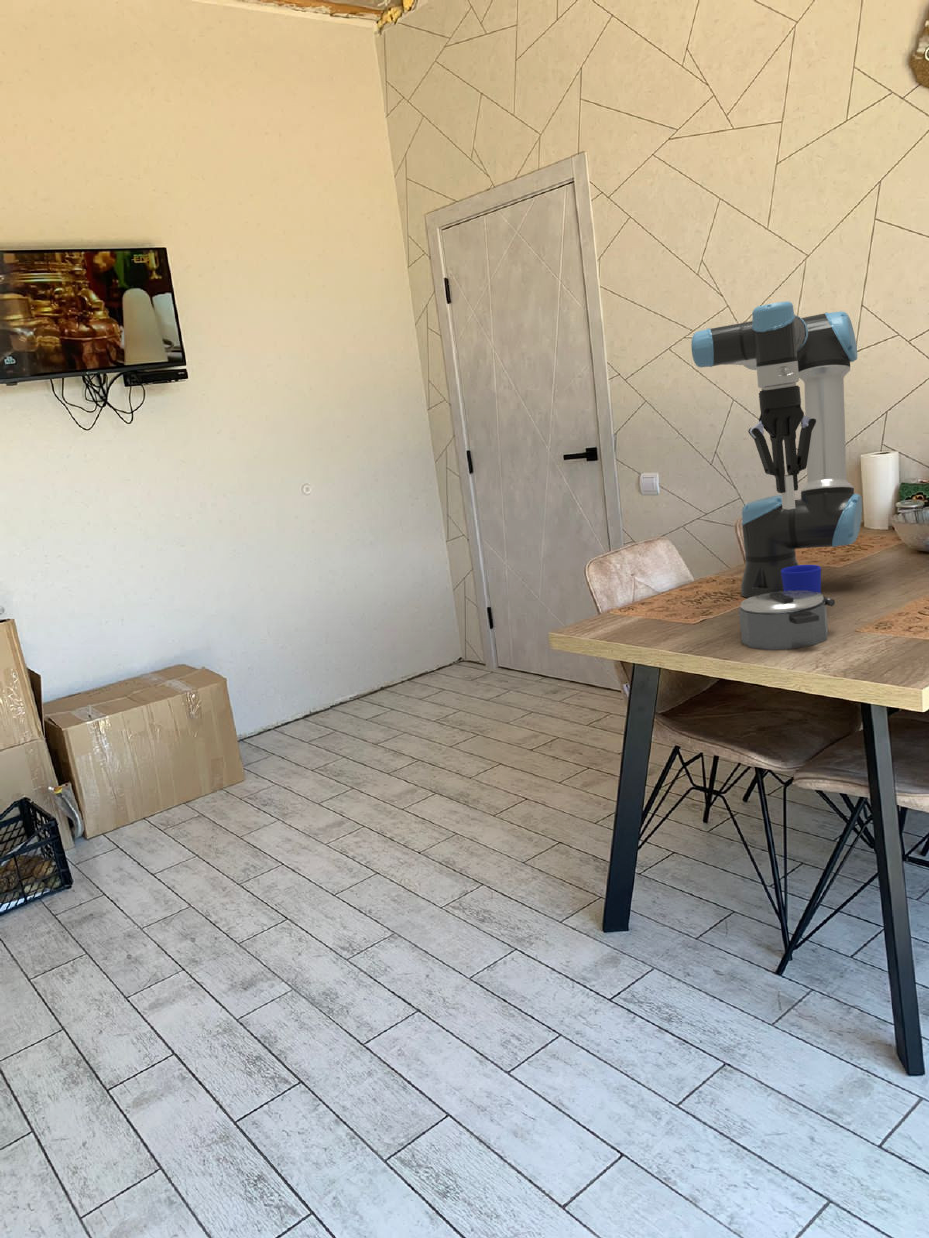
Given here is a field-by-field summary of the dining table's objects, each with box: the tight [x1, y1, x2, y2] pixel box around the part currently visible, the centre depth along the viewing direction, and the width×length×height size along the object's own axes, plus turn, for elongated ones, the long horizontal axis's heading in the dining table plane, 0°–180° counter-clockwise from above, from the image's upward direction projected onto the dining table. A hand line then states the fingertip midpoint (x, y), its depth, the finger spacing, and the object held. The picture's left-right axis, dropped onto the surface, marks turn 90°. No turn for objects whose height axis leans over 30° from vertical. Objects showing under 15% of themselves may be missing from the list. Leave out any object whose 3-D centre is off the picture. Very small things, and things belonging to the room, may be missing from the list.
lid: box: [740, 591, 824, 614], centre depth 185 cm, size 16×16×2 cm
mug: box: [781, 564, 822, 594], centre depth 205 cm, size 8×12×10 cm
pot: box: [738, 595, 836, 651], centre depth 186 cm, size 22×18×7 cm
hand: (788, 508), depth 185 cm, fingers closed
